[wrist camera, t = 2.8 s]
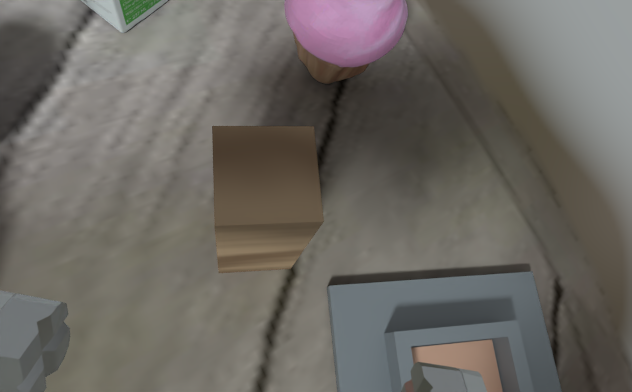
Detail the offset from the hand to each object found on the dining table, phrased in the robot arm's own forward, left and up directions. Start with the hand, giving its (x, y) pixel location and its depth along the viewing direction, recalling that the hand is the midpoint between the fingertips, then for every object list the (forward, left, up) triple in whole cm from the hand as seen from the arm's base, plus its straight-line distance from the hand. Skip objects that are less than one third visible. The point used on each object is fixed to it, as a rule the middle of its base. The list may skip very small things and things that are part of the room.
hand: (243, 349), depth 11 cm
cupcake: (+23, -9, -21) cm, 32 cm away
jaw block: (+8, -2, -21) cm, 22 cm away
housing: (-4, -15, -21) cm, 26 cm away
